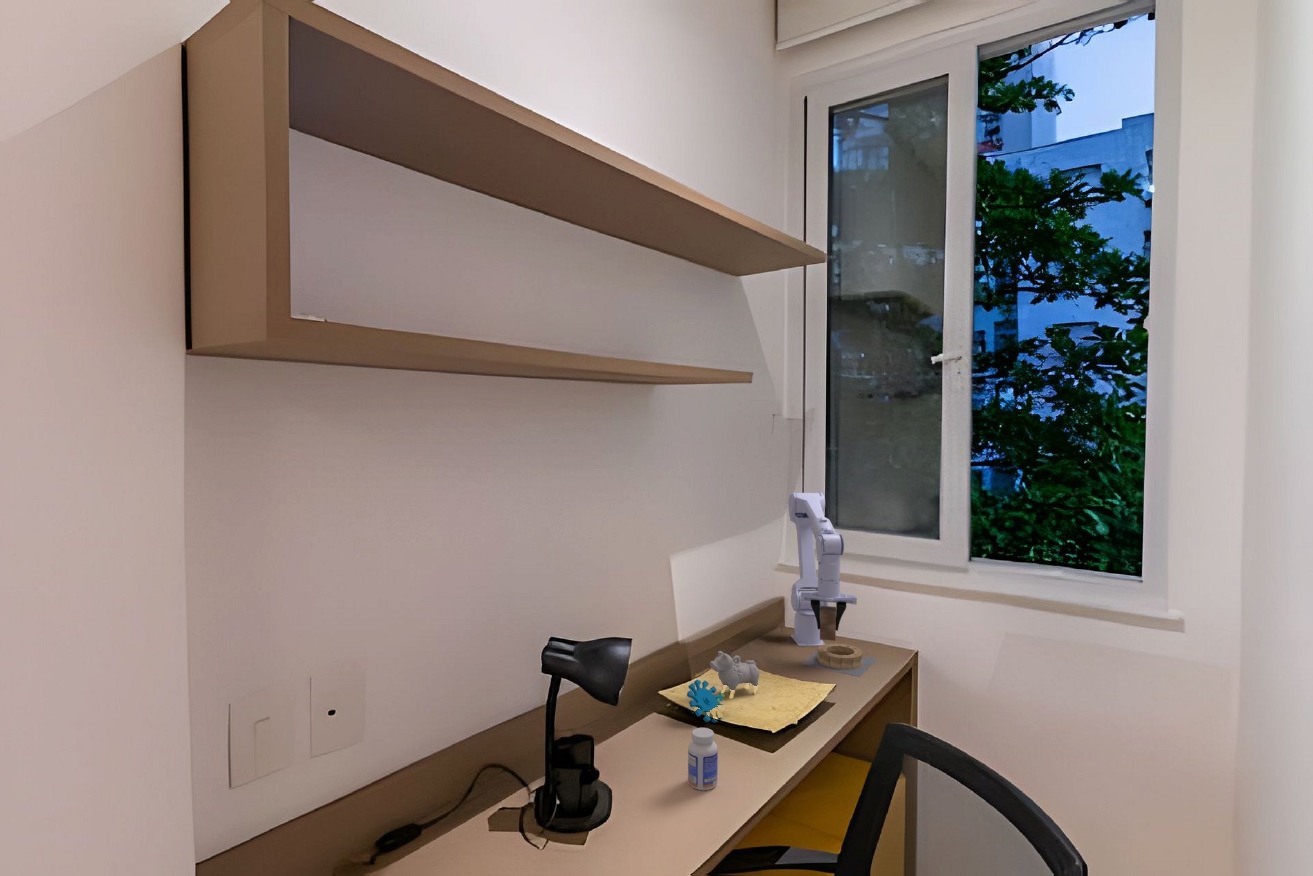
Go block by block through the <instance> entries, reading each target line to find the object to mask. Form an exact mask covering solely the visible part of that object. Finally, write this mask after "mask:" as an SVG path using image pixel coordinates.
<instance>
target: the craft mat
mask: <svg viewBox="0 0 1313 876" xmlns="http://www.w3.org/2000/svg"><path fill="white" fill-rule="evenodd" d="M878 660H879V658H876V657H870V656H866V655H863V663H862V665H861V667H858V668H854V669H837V668H831V667H828V666H825V665H823V664H821V663H820V662H819V661H818V650H817V651H816V652H814V653H813V654H812V655H810V656H809V657H808V658H806V659H805V660H804V661H802V662H801V663H800V665H802V666H803V665H804V666H808V667H813V668H817V669H821V670H826V671H831V672H836V673H840V674H844V675H849V676H853V677H857V678H858V677H859V678H860V677H861V676H862V675H863V674H865V673H866V672H867V671H868V670H869V669H870V668H871V667H872V665H874V664H875V663H876V662H877V661H878Z"/></svg>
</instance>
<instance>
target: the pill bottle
mask: <svg viewBox="0 0 1313 876" xmlns="http://www.w3.org/2000/svg"><path fill="white" fill-rule="evenodd" d="M691 739H692V740H691V742H689V744H688V747H687V748H688V749H687V750H688V751H687V755H688V758H687V765H688V766H687V769H688V770H687V778H688V779H687V780H688V781H687V782H688V785H689V786H690V787H691V788H693V789H695V790H698V791H710V790H712V789H714V788H716V786H717V785H718V769H719V768H718V762H719V761H718V758H719V756H718V744H717V743H716V742H715V741H714V740H715V734H714V730H712V729H710V728H708V727H698V728H695V729H693V730H692V733H691Z"/></svg>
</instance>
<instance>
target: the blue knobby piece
mask: <svg viewBox="0 0 1313 876" xmlns="http://www.w3.org/2000/svg"><path fill="white" fill-rule="evenodd" d="M700 685H701V686H702V687H701V686H700ZM709 685H710V683H709V682H708V681H707V680H704V681H702V682H701V680H699V679H696V680H694V681H693V682H692V683H690V684H689V685H688V686H687V687H688V689H689V690H688V691H687V693H686V697H688V698H690V699H691V700H689V701H688V704H689V707H690V708H695V707H698V708H700V709H697V710H696V711H695V715H696V717H700V716H701V715H702V713H703V714H704V713H705V712H710V710H712V709H713V708H715V707H718V706H717V705H724V704H723V703H721V702H722V701H723V699H724V697H725V696H726V695H725V693H719V694H718V695H716V694H715V693H716V692H717V691H718V690H717V687H715V686H714V685H713V686H711V687H710V688H709V689H708V688H707V687H708V686H709ZM691 713H692V714H694V712H692V711H691ZM702 718H703V721H705V722H706V723H708V722H710V721H711V722H712V723H714V724H717V723H718V722H719V721H717V720H715V719H712V718H711V715H710V716H708V715H706V714H705V715H704V717H702Z"/></svg>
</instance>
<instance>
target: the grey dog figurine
mask: <svg viewBox="0 0 1313 876" xmlns="http://www.w3.org/2000/svg"><path fill="white" fill-rule="evenodd" d="M717 654H718V655H717V656H716V657H715V658H713V659H714V660H711V661H710V662H709V665H710V667H711V669H712V670H713V671H714V672H716V673H717V675H718V679H719V680H720V682H721V685H722V684H723V685H727V686H728V687H727V688H728V689H731V690H735V689H737V687H738V686H739V685H740V684H745V683H750V684H751V685H752V686H753V685H754V686H757V685H758V686H759V679H760V673H761V672H760V670H759V668H758V667H757V663H756V661H755V660H751V659H750V660H749V659H748V660H747V659H746V660H745V662H741V657H740V655H734V656H733V657H731V656H730V655H729V654H728V653H724V652H723V651H722V650H719V651H717ZM735 691H736V690H735Z"/></svg>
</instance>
